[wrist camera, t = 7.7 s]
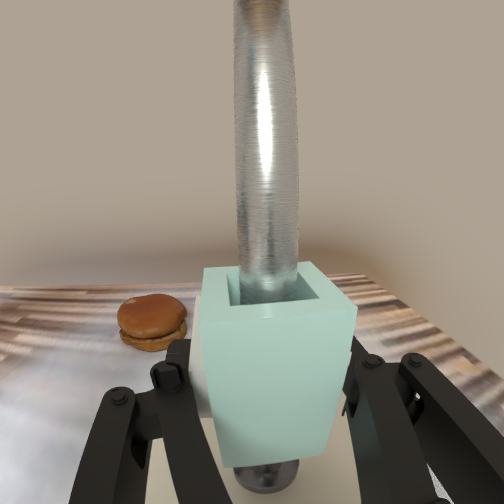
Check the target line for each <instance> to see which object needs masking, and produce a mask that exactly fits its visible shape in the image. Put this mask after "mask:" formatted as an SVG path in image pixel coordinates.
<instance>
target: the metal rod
mask: <svg viewBox="0 0 504 504" xmlns="http://www.w3.org/2000/svg"><path fill="white" fill-rule="evenodd" d="M233 14H234V15H233V16H234V17H233V18H234V21H233V27H234V121H235V167H236V203H237V233H238V234H237V235H238V260H239V287H240V305H253V304H266V303H277V302H288V301H296V298H297V272H298V226H299V220H298V219H299V218H298V217H299V182H298V181H299V177H298V176H299V175H298V131H297V130H298V129H297V106H296V85H295V70H294V55H293V42H292V31H291V20H290V11H289V2H288V0H234V13H233ZM298 467H299V459H296V460H291V461H285V462H279V463H272V464H264V465H256V466H246V467H233V471H234V476H235V478H236V480H237V482H238V483H239V484H240V485H241V486H242V487H243V488H245V489H247V490H249V491H251V492H254V493H259V494H271V493H276V492H279V491H281V490H284V489H285V488H287V487H288V486H289V485H290V484H291V483H292V482H293V481H294V480H295V478H296V475H297V472H298Z"/></svg>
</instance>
